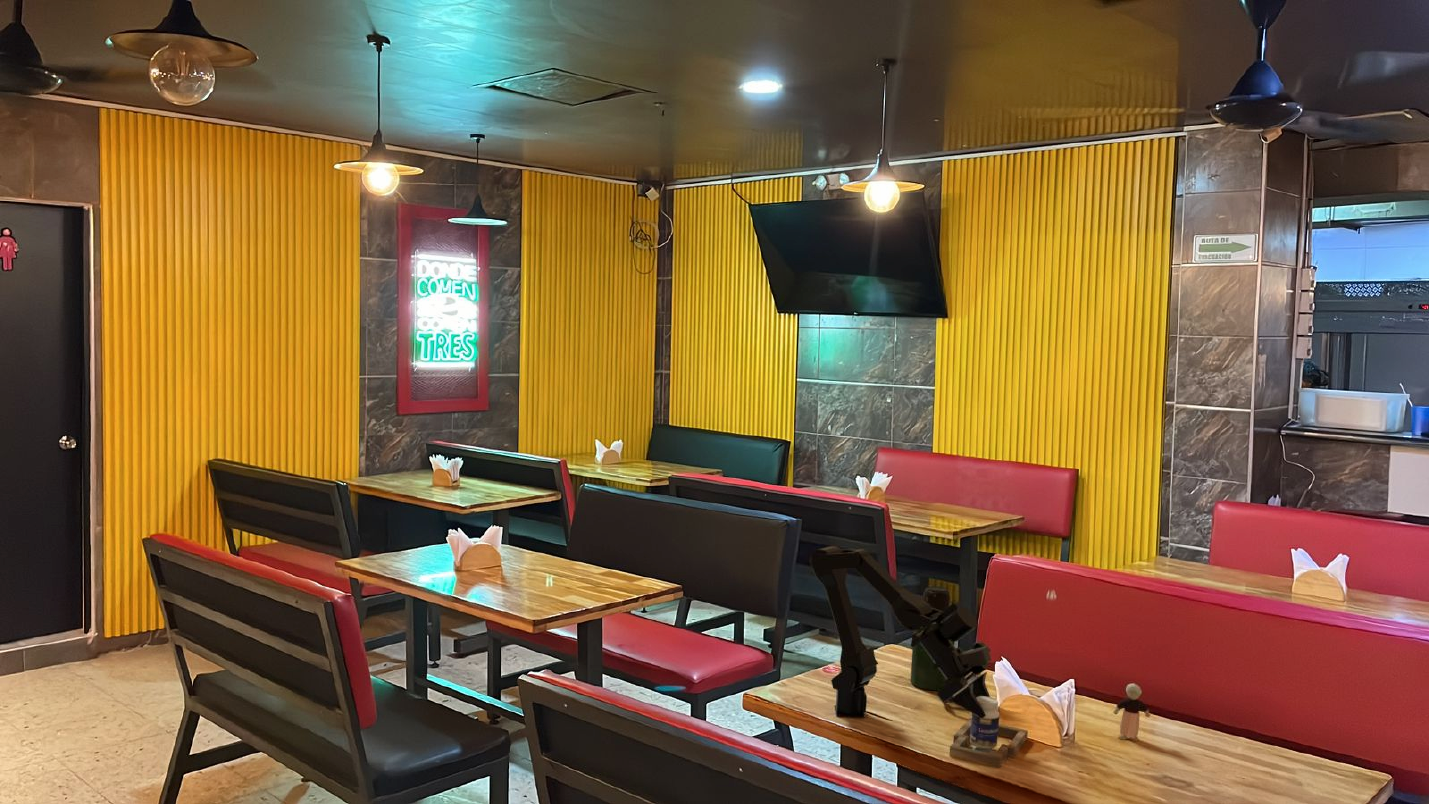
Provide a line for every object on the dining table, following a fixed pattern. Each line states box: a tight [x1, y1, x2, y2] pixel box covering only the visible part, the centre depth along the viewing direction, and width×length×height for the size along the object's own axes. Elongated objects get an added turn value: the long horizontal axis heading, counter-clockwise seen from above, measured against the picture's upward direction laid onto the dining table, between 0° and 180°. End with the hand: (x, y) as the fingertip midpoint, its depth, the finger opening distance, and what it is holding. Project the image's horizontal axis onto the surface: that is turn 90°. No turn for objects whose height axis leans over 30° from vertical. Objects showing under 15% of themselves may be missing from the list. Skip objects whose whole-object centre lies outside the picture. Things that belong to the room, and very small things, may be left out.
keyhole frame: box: [949, 717, 1028, 769], centre depth 232 cm, size 20×13×2 cm, turn 151°
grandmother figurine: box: [1112, 683, 1151, 742], centre depth 240 cm, size 8×4×13 cm, turn 88°
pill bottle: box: [969, 696, 1000, 750], centre depth 230 cm, size 6×6×10 cm
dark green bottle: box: [910, 585, 956, 691], centre depth 271 cm, size 10×10×25 cm
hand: (988, 713), depth 229 cm, fingers closed on pill bottle, 6 cm apart
